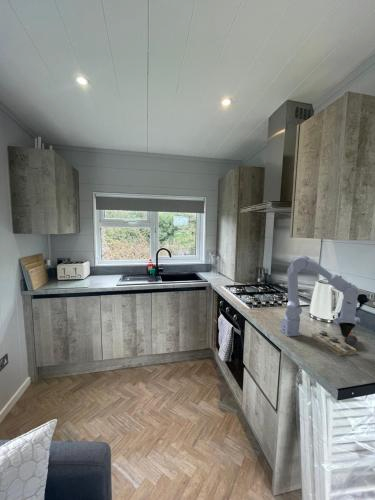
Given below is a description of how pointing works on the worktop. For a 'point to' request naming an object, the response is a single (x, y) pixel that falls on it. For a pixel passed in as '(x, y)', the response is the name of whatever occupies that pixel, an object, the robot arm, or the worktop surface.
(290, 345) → the worktop surface
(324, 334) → the button left
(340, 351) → the button board
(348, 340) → the supplement bottle
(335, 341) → the button middle
